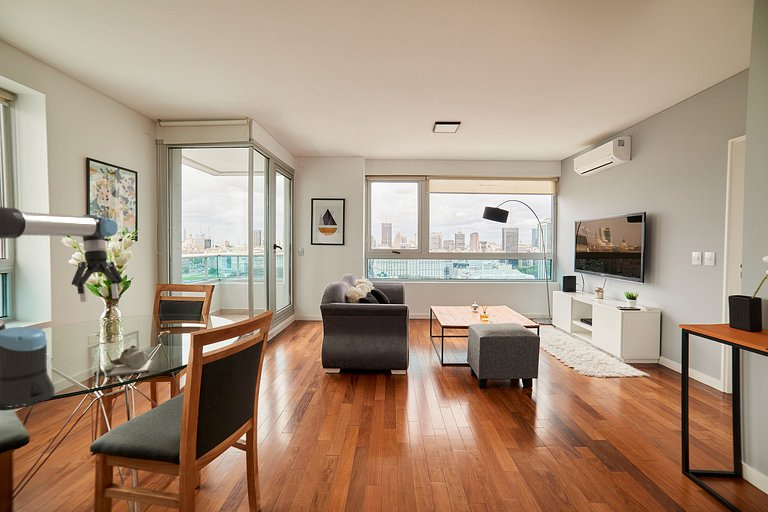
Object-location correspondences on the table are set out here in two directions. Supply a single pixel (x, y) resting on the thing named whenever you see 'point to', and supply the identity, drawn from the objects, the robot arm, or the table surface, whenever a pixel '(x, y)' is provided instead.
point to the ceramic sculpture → (132, 358)
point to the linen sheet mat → (128, 369)
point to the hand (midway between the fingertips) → (100, 300)
